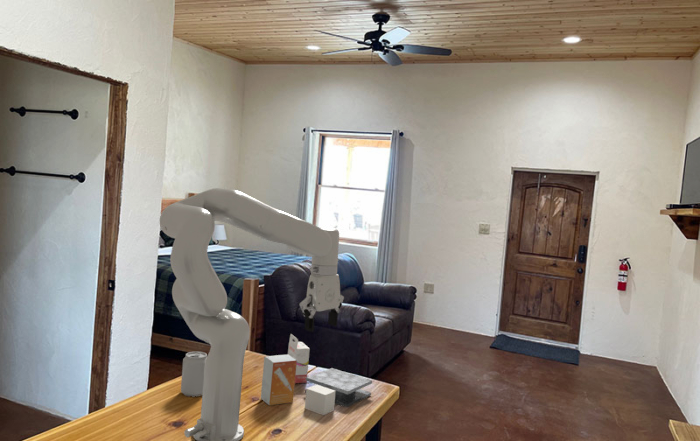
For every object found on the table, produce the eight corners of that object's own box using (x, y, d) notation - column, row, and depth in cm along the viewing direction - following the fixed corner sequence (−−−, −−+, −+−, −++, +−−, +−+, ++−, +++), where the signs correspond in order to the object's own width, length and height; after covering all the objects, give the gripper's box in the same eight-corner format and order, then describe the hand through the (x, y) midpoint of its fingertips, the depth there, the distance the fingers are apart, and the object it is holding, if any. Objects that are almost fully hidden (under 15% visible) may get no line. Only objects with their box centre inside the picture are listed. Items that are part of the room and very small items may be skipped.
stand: (346, 407, 164) (348, 391, 164) (304, 393, 173) (306, 377, 173) (370, 395, 176) (372, 380, 175) (330, 382, 184) (331, 368, 184)
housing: (323, 415, 157) (325, 395, 157) (304, 408, 161) (306, 388, 160) (333, 410, 161) (335, 390, 161) (314, 403, 165) (316, 384, 165)
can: (175, 395, 162) (178, 355, 161) (188, 387, 169) (191, 348, 169) (198, 399, 160) (201, 359, 160) (210, 391, 167) (213, 352, 167)
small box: (269, 406, 160) (272, 362, 159) (260, 398, 165) (263, 356, 165) (293, 402, 164) (297, 359, 164) (284, 395, 170) (287, 353, 169)
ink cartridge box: (307, 383, 182) (311, 339, 181) (293, 384, 180) (297, 340, 179) (299, 374, 190) (302, 332, 189) (285, 375, 188) (289, 333, 187)
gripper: (311, 274, 150) (308, 336, 151) (353, 269, 163) (350, 326, 164) (293, 270, 155) (290, 329, 156) (335, 265, 168) (332, 320, 169)
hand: (321, 327), depth 160 cm, fingers open, 9 cm apart
